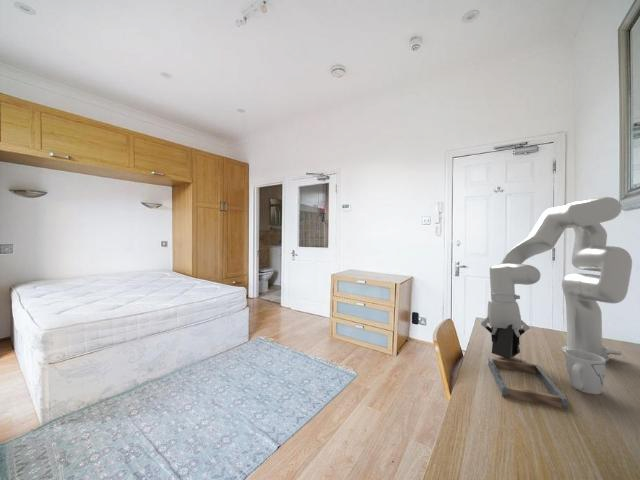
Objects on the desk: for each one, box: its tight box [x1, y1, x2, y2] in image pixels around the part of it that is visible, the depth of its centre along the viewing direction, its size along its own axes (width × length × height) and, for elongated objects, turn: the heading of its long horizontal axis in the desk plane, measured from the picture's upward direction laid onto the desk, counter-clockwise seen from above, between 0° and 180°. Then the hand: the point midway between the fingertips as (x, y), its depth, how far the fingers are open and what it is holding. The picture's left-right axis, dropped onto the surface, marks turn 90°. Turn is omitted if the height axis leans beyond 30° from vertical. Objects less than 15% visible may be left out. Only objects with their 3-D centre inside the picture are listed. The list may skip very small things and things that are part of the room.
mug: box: [564, 350, 607, 395], centre depth 75 cm, size 11×8×10 cm
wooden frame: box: [487, 357, 569, 410], centre depth 79 cm, size 14×20×2 cm
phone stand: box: [491, 324, 521, 360], centre depth 96 cm, size 9×6×12 cm, turn 122°
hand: (505, 344), depth 96 cm, fingers closed on phone stand, 5 cm apart
